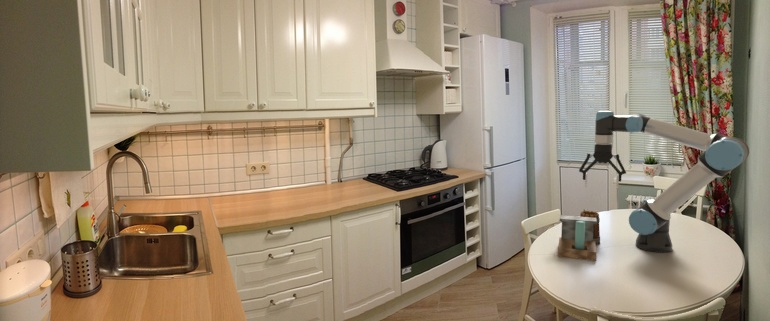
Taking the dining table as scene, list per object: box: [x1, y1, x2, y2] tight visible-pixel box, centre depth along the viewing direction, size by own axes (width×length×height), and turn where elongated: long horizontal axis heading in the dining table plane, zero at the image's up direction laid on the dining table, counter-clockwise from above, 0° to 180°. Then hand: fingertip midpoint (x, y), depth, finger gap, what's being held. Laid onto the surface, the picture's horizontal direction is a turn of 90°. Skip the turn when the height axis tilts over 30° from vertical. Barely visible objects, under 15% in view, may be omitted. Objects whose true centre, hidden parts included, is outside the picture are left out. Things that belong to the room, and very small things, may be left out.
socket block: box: [557, 214, 598, 262], centre depth 210 cm, size 16×17×15 cm
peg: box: [575, 221, 585, 250], centre depth 206 cm, size 4×4×16 cm
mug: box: [579, 209, 601, 246], centre depth 227 cm, size 16×11×15 cm
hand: (601, 187), depth 217 cm, fingers open, 13 cm apart
